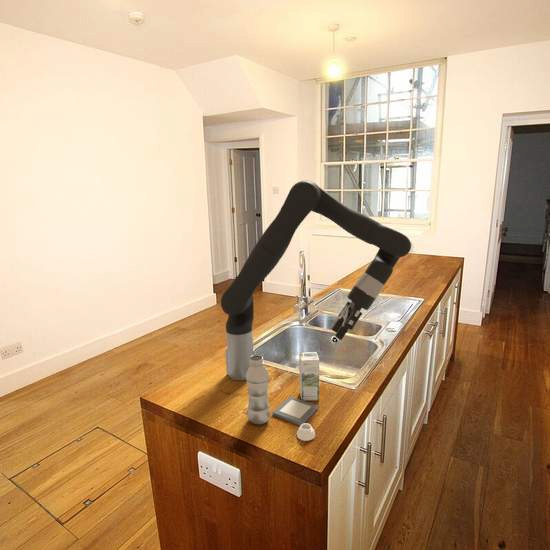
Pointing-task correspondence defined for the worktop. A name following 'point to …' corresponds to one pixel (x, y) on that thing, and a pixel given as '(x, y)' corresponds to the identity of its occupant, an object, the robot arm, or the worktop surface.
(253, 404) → the plastic bottle
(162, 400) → the worktop surface
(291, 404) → the plate
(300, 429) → the white jar
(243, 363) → the robot arm
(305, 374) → the syrup box
